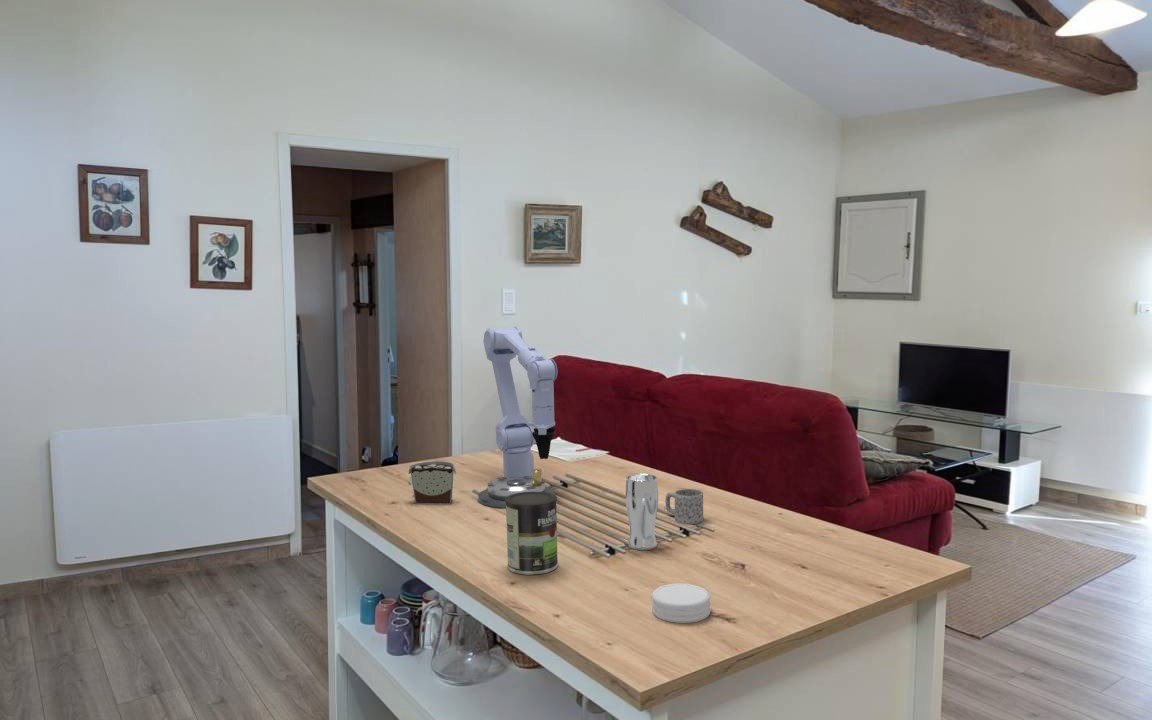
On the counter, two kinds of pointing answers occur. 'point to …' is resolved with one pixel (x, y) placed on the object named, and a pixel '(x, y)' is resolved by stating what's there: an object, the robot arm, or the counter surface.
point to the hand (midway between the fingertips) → (544, 456)
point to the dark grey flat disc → (497, 503)
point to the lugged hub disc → (516, 485)
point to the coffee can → (531, 532)
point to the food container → (432, 482)
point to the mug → (686, 506)
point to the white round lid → (681, 603)
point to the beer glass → (642, 510)
